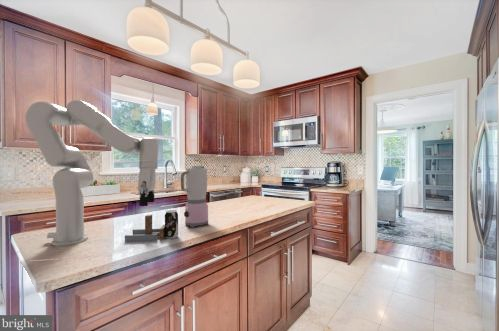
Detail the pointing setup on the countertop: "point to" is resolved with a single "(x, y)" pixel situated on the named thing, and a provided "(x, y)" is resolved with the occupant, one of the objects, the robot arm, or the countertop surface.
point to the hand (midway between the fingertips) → (147, 204)
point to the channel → (141, 236)
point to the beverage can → (171, 224)
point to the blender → (195, 196)
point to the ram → (149, 228)
